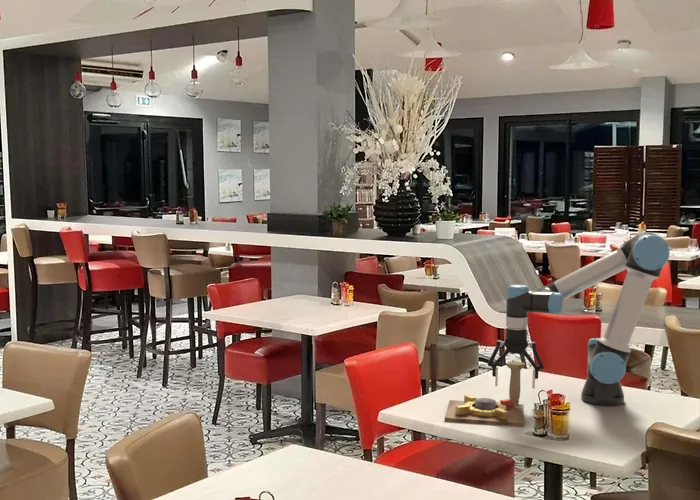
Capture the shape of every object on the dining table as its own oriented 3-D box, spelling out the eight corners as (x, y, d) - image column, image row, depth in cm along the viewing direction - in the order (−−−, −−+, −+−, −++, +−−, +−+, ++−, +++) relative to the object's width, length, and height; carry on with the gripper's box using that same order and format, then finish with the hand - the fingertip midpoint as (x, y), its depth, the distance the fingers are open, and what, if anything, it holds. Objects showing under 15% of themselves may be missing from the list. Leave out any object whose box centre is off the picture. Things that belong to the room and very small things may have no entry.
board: (523, 408, 289) (524, 394, 288) (524, 426, 267) (525, 412, 267) (449, 403, 294) (449, 390, 293) (444, 421, 272) (445, 407, 272)
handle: (525, 404, 293) (527, 364, 291) (511, 406, 290) (513, 365, 289) (517, 401, 297) (519, 360, 296) (502, 403, 295) (504, 362, 293)
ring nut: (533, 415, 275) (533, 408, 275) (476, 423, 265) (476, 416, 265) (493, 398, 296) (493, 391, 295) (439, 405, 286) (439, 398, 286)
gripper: (551, 327, 293) (549, 385, 295) (482, 324, 298) (480, 381, 300) (552, 331, 286) (550, 391, 288) (481, 328, 290) (480, 387, 292)
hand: (514, 386), depth 294 cm, fingers open, 12 cm apart
